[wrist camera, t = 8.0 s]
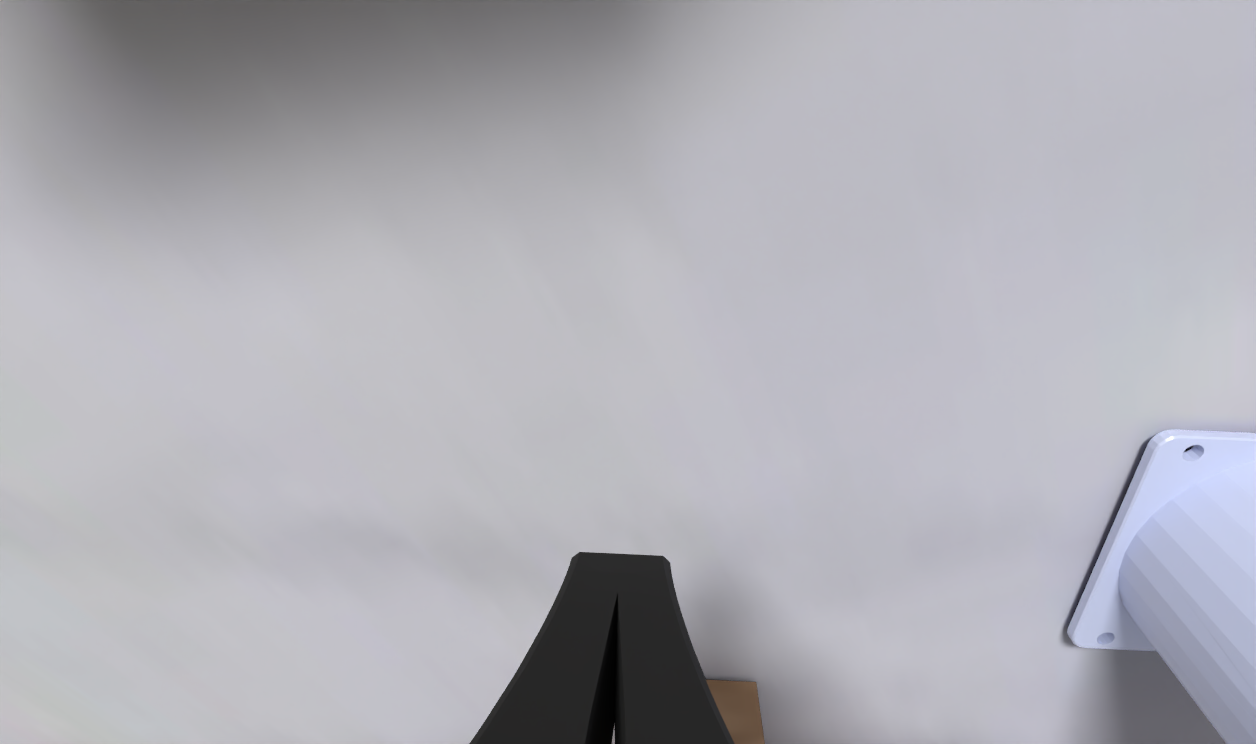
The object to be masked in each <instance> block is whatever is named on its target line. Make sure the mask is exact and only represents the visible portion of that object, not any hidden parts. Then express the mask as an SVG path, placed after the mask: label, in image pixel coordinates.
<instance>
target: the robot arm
mask: <svg viewBox="0 0 1256 744" xmlns="http://www.w3.org/2000/svg"><path fill="white" fill-rule="evenodd" d="M1192 445H1194V446H1193V447H1192V448H1191V449H1190V450H1188V451H1187V452H1184V451H1185V450H1186V448H1188V447H1190V446H1192ZM1067 633H1068V635H1069V637H1070V639H1071V640H1072V642H1073V643H1074V644H1075V645H1076V646H1078V647H1083V648H1098V649H1119V650H1139V651H1157V652H1158V654H1159V655H1160V656H1161V658H1162V659H1163V660H1164V662H1165V663H1166V664H1167V666H1168V667H1169V668H1170V670H1171V671H1172V672H1173V674H1174V675H1175V676H1176V678H1177V679H1178V680H1179V681H1180V683H1181V684H1182V685H1183V687H1184V688H1185V689H1186V691H1187V692H1188V693H1189V695H1190V696H1191V697H1192V699H1193V700H1194V701H1195V703H1196V704H1197V705H1198V707H1199V708H1200V709H1201V711H1202V712H1203V713H1204V715H1205V716H1206V717H1207V719H1208V720H1209V721H1210V723H1211V724H1212V725H1213V727H1214V728H1215V729H1216V731H1217V732H1218V733H1219V735H1220V736H1221V737H1222V739H1223V740H1224V741H1225V743H1226V744H1256V433H1245V432H1221V431H1197V430H1174V429H1173V430H1165V431H1163V432H1160V433H1158V434H1157V435H1155V436H1154V437H1153V438H1152V439H1151V440H1150V441H1149V443H1148V445H1147V447H1146V449H1145V451H1144V454H1143V456H1142V458H1141V461H1140V463H1139V465H1138V468H1137V470H1136V472H1135V475H1134V477H1133V479H1132V481H1131V484H1130V486H1129V488H1128V491H1127V493H1126V495H1125V498H1124V500H1123V502H1122V504H1121V507H1120V509H1119V511H1118V514H1117V516H1116V518H1115V521H1114V523H1113V525H1112V528H1111V530H1110V532H1109V534H1108V537H1107V539H1106V541H1105V544H1104V546H1103V548H1102V551H1101V553H1100V555H1099V557H1098V560H1097V562H1096V564H1095V567H1094V569H1093V571H1092V574H1091V576H1090V578H1089V581H1088V583H1087V585H1086V587H1085V590H1084V592H1083V594H1082V597H1081V599H1080V601H1079V604H1078V606H1077V608H1076V611H1075V613H1074V615H1073V617H1072V620H1071V622H1070V624H1069V627H1068V630H1067ZM614 722H615V744H734V741H733V739H732V737H731V735H730V733H729V731H728V729H727V727H726V724H725V722H724V720H723V718H722V716H721V714H720V712H719V709H718V707H717V705H716V703H715V700H714V698H713V696H712V694H711V691H710V689H709V686H708V684H707V681H706V679H705V676H704V674H703V671H702V669H701V667H700V664H699V662H698V659H697V657H696V654H695V652H694V649H693V646H692V643H691V641H690V638H689V635H688V632H687V629H686V626H685V623H684V620H683V617H682V614H681V611H680V607H679V604H678V600H677V596H676V592H675V588H674V584H673V579H672V574H671V567H670V562H669V561H668V560H667V559H666V558H665V557H664V556H653V555H631V554H610V553H589V552H579V553H578V554H576V555H575V556H574V557H572V559H571V563H570V566H569V569H568V571H567V574H566V576H565V579H564V581H563V584H562V586H561V588H560V591H559V593H558V595H557V597H556V599H555V602H554V604H553V606H552V608H551V610H550V612H549V614H548V616H547V618H546V620H545V622H544V624H543V626H542V627H541V629H540V631H539V633H538V635H537V636H536V638H535V640H534V642H533V644H532V645H531V647H530V649H529V651H528V652H527V654H526V656H525V658H524V660H523V661H522V663H521V665H520V667H519V668H518V670H517V672H516V673H515V675H514V677H513V678H512V680H511V681H510V683H509V685H508V686H507V688H506V689H505V691H504V692H503V694H502V695H501V697H500V699H499V700H498V702H497V703H496V705H495V706H494V708H493V709H492V711H491V713H490V714H489V716H488V717H487V719H486V720H485V722H484V723H483V725H482V726H481V728H480V729H479V731H478V732H477V734H476V735H475V737H474V738H473V739H472V741H471V742H470V744H611V743H612V736H613V729H614Z"/></svg>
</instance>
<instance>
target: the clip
mask: <svg viewBox="0 0 1256 744" xmlns="http://www.w3.org/2000/svg"><path fill="white" fill-rule="evenodd" d="M706 681H707V684H708V686H709V689H710V691H711V694H712V696H713V698H714V700H715V703H716V705H717V707H718V709H719V712H720V714H721V716H722V718H723V720H724V722H725V724H726V727H727V729H728V731H729V733H730V735H731V737H732V739H733V741H734V744H765V742H764V735H763V728H762V721H761V713H760V706H759V699H758V692H757V684H756V682H743V681H723V680H706Z"/></svg>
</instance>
